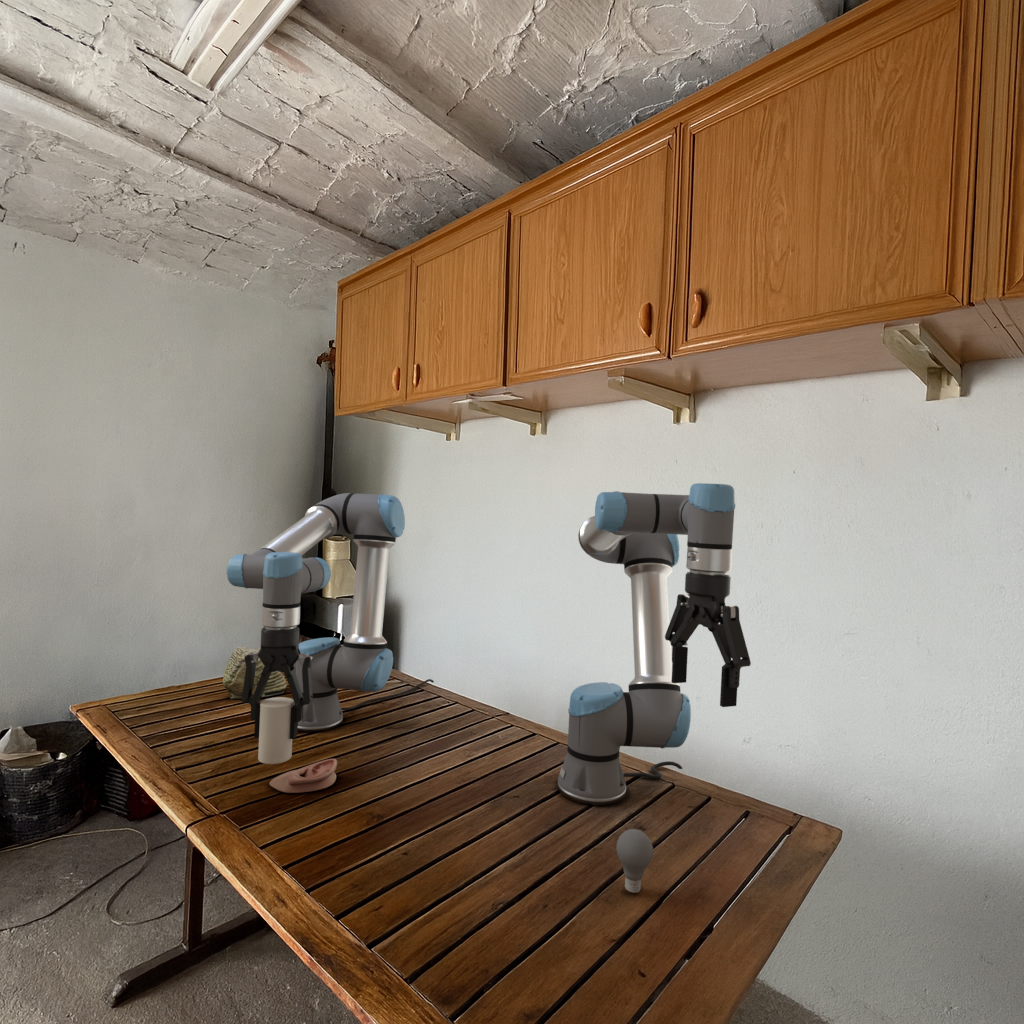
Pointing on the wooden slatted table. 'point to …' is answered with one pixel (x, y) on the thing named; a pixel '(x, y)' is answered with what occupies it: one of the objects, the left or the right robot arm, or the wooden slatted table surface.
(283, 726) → the canister
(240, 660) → the fossil
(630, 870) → the light bulb
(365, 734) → the wooden slatted table surface
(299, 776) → the anatomical model
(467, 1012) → the wooden slatted table surface
